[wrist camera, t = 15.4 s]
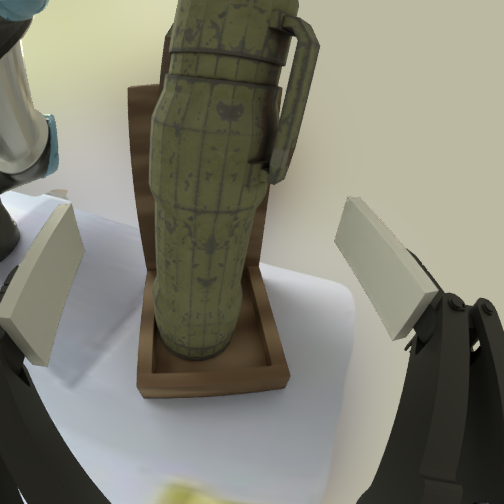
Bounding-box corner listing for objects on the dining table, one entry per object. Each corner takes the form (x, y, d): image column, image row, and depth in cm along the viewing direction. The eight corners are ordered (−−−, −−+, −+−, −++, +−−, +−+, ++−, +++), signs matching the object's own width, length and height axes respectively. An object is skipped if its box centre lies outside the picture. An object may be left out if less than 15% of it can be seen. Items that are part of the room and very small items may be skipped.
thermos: (179, 284, 36) (214, -16, 15) (257, 329, 33) (351, -9, 12) (132, 324, 29) (137, -41, 9) (216, 383, 26) (312, -70, 5)
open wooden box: (151, 279, 38) (131, 86, 22) (254, 274, 41) (278, 86, 25) (143, 398, 25) (44, 130, 9) (284, 387, 27) (376, 129, 11)
